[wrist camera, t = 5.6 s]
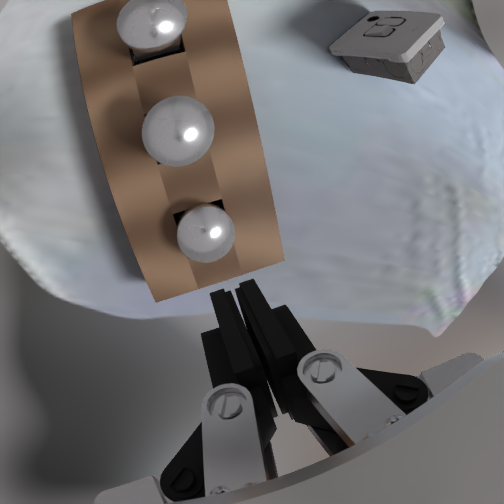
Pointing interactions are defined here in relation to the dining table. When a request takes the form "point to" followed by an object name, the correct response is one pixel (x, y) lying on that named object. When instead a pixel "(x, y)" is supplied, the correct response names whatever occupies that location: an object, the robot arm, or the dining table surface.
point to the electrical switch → (392, 44)
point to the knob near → (152, 26)
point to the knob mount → (182, 177)
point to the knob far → (205, 232)
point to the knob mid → (178, 131)
